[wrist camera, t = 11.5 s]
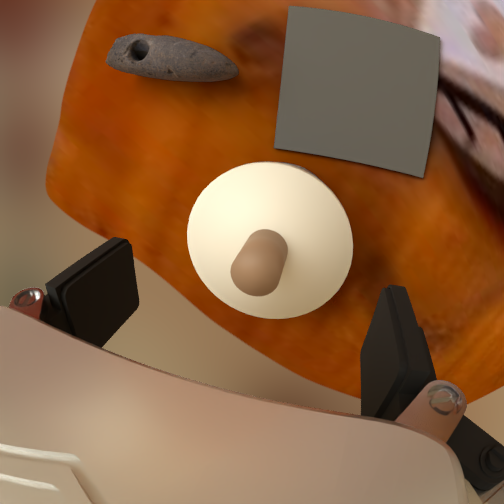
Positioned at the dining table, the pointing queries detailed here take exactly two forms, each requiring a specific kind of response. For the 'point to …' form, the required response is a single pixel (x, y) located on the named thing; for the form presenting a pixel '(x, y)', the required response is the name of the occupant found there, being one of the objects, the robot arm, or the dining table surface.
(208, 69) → the perforated stone tool
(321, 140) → the mat
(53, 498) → the robot arm
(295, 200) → the lid
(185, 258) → the dining table surface
